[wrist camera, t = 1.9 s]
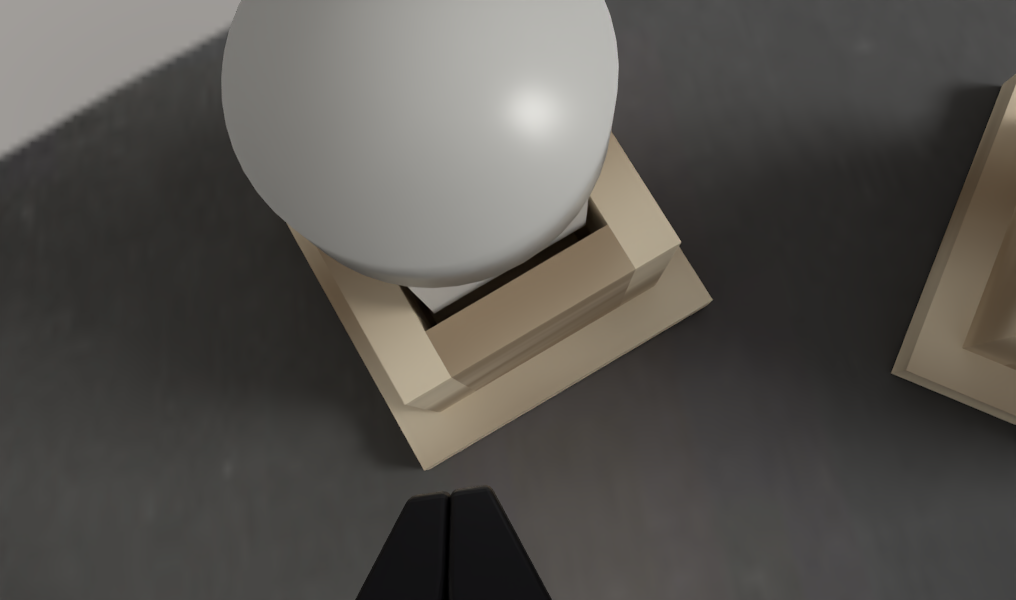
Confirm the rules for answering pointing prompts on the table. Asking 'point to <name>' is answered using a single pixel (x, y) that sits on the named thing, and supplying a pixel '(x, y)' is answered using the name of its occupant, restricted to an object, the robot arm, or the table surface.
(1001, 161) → the cream square holder
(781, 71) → the table surface
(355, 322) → the beige square socket
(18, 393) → the table surface
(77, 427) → the table surface
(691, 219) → the table surface
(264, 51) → the light grey rounded piece
